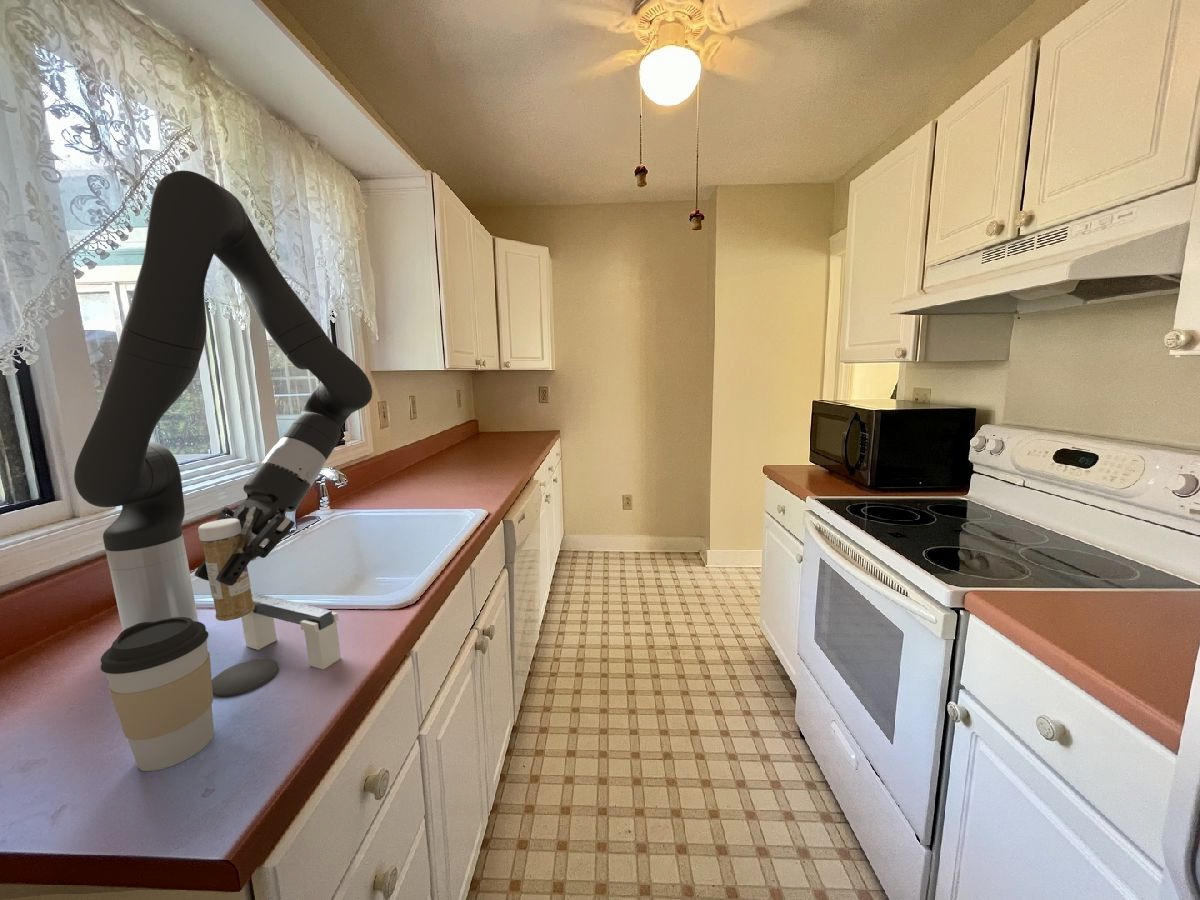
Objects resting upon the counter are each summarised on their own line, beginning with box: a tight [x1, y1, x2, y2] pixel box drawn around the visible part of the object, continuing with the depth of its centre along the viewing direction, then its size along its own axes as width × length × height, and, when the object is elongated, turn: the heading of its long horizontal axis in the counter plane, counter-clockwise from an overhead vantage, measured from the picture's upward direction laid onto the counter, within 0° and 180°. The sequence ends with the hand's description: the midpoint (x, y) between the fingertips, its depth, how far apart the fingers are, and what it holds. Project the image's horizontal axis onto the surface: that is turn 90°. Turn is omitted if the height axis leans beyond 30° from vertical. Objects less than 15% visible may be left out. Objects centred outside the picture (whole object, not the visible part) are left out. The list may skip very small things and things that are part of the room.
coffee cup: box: [99, 617, 215, 772], centre depth 55 cm, size 9×9×15 cm
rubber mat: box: [212, 657, 279, 698], centre depth 69 cm, size 8×8×1 cm
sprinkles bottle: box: [197, 518, 255, 622], centre depth 67 cm, size 5×5×13 cm
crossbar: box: [251, 592, 333, 630], centre depth 75 cm, size 18×2×2 cm, turn 67°
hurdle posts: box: [240, 611, 342, 670], centre depth 75 cm, size 18×4×7 cm, turn 67°
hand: (213, 580), depth 65 cm, fingers closed on sprinkles bottle, 4 cm apart
